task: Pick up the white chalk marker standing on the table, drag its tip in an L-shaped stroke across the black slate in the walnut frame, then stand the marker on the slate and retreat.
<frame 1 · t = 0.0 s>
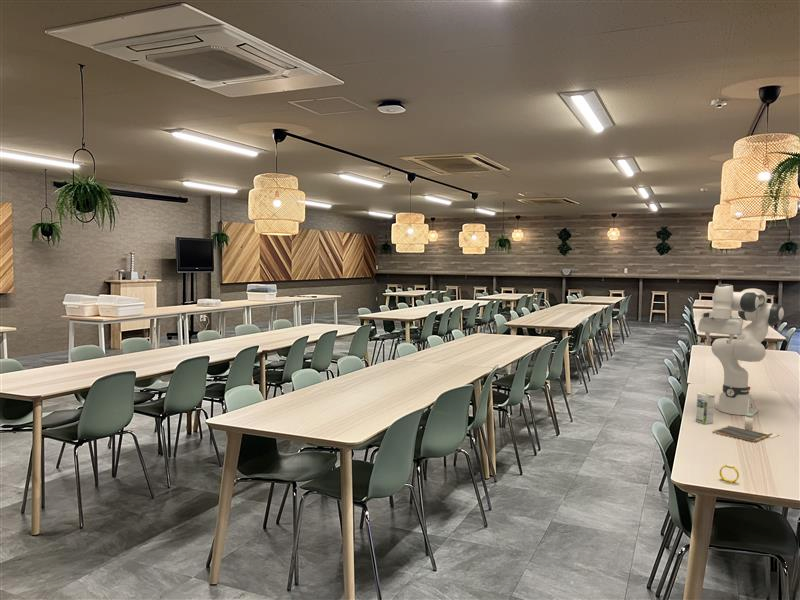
hand: (718, 342, 295), 39 cm above the table, tool pointing down, fingers open, 8 cm apart
marker: (748, 430, 276), on the table
syrup box: (704, 422, 289), on the table
slate: (741, 434, 269), on the table
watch: (728, 481, 209), on the table
word card: (769, 435, 269), on the table
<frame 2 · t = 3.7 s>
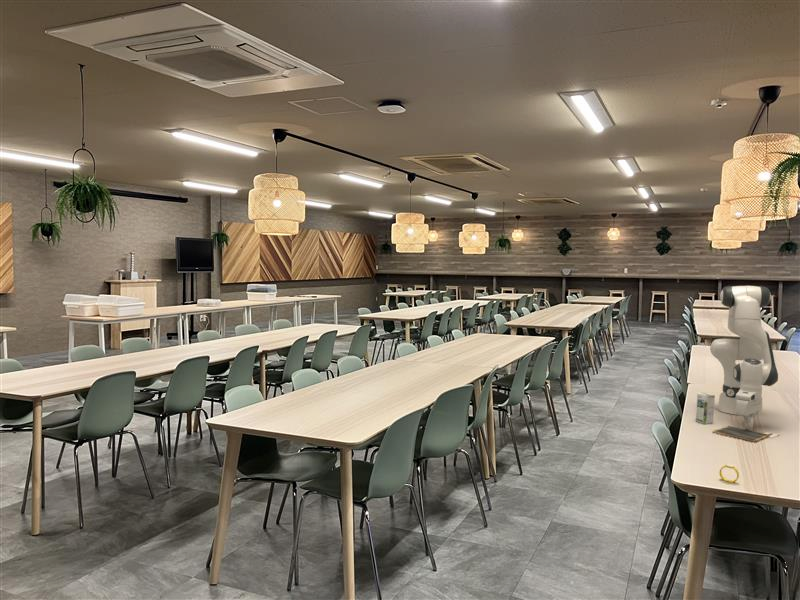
hand: (748, 422, 276), 4 cm above the table, tool pointing down, fingers closed on marker, 3 cm apart
marker: (748, 430, 276), on the table, touching gripper
everything else where it was.
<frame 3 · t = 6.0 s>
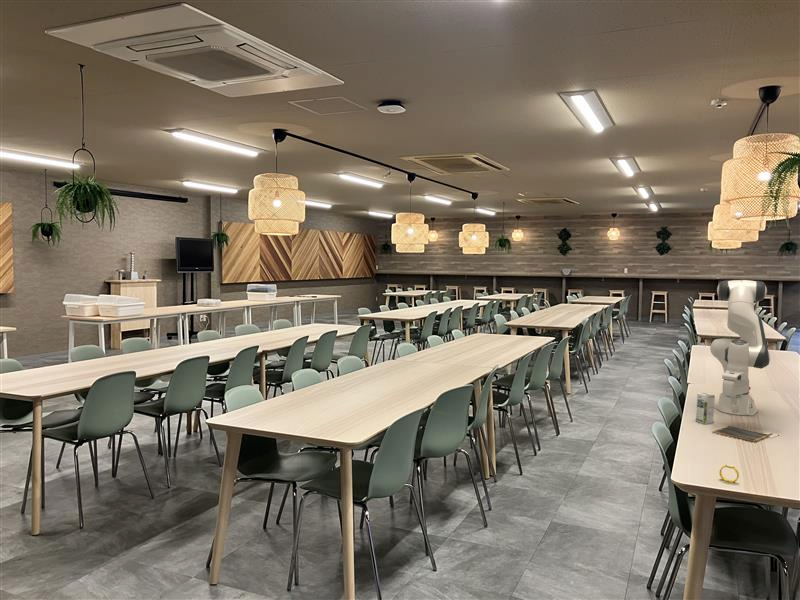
hand: (735, 403, 274), 13 cm above the table, tool pointing down, fingers closed on marker, 3 cm apart
marker: (735, 412, 275), point 9 cm above the table, touching gripper
everything else where it was.
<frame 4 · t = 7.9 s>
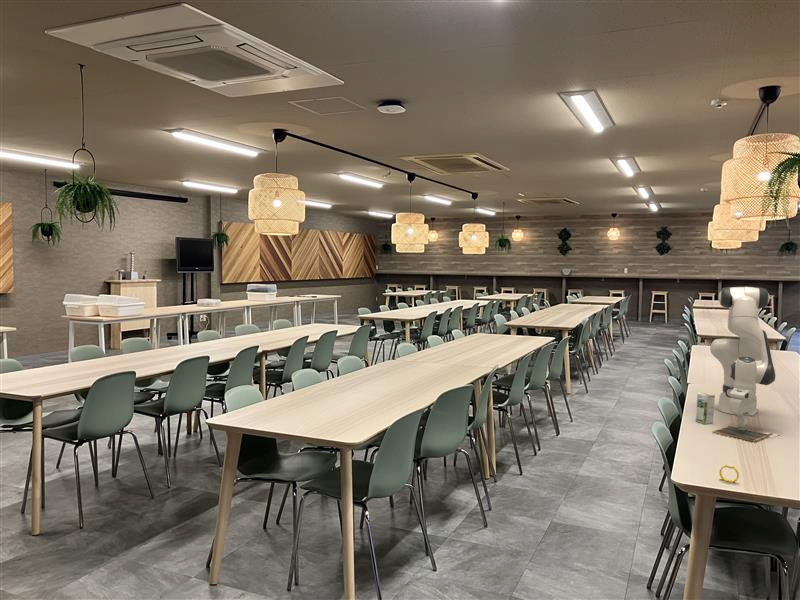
hand: (742, 421, 272), 5 cm above the table, tool pointing down, fingers closed on marker, 3 cm apart
marker: (742, 429, 272), point 1 cm above the table, touching gripper
everything else where it was.
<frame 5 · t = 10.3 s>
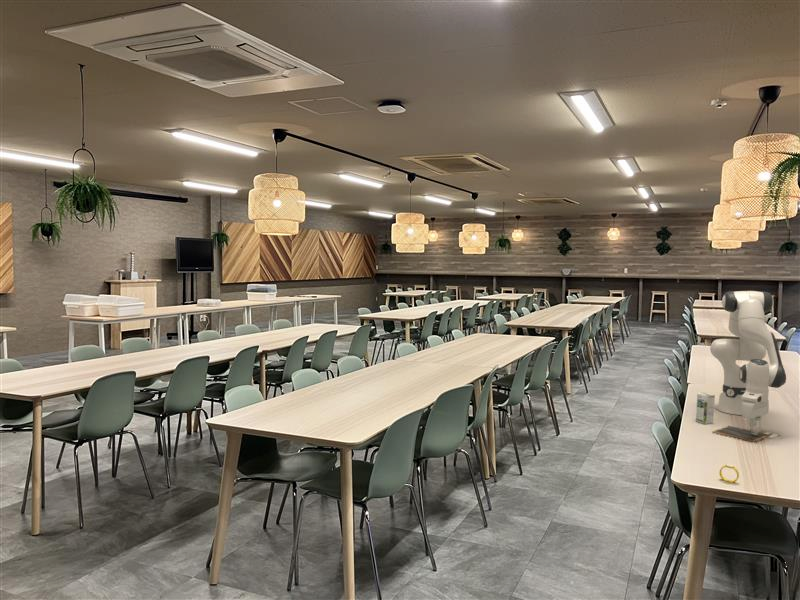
hand: (754, 425, 265), 5 cm above the table, tool pointing down, fingers closed on marker, 3 cm apart
marker: (754, 434, 265), point 1 cm above the table, touching gripper
everything else where it was.
when the fingers open (5 cm above the table, at t = 12.4 s): marker stays where it is, resting on slate.
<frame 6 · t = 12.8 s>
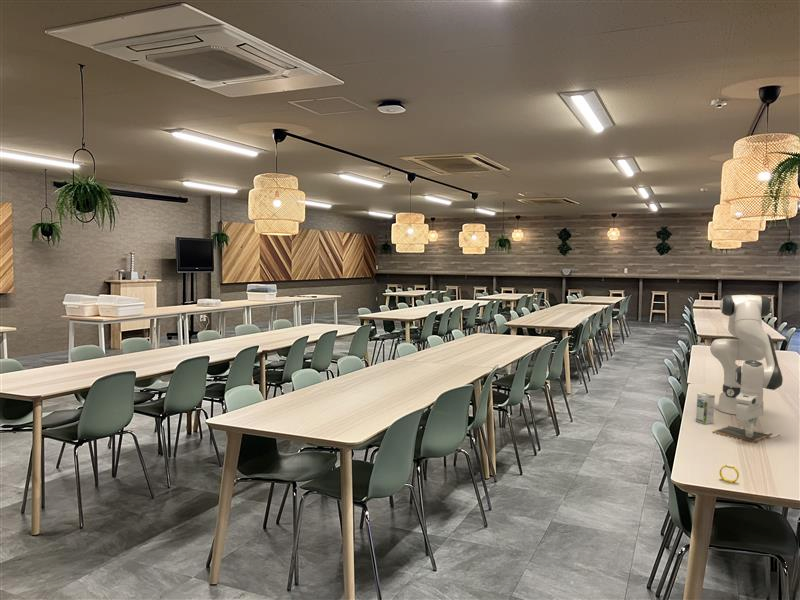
hand: (749, 427, 262), 5 cm above the table, tool pointing down, fingers open, 7 cm apart
marker: (749, 437, 262), point 1 cm above the table, touching slate
everything else where it was.
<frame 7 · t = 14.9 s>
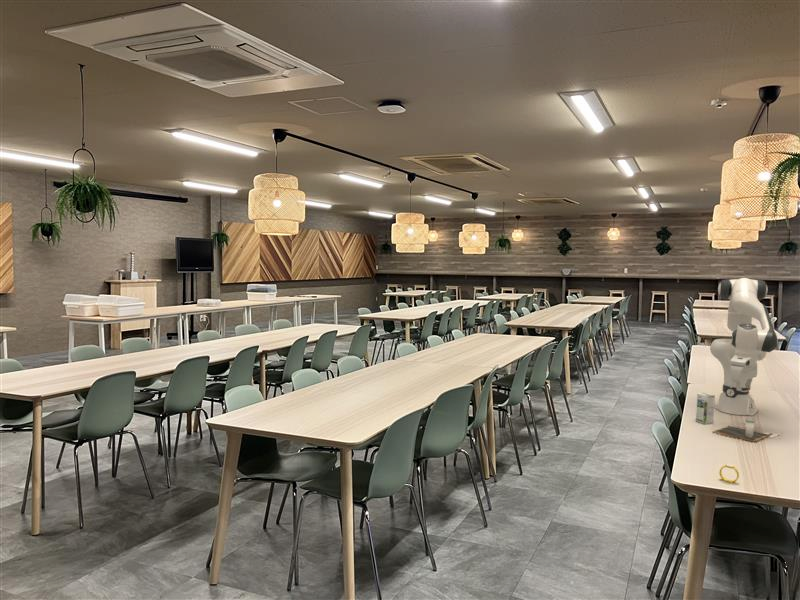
hand: (743, 389, 269), 21 cm above the table, tool pointing down, fingers open, 8 cm apart
nothing on the table moved.
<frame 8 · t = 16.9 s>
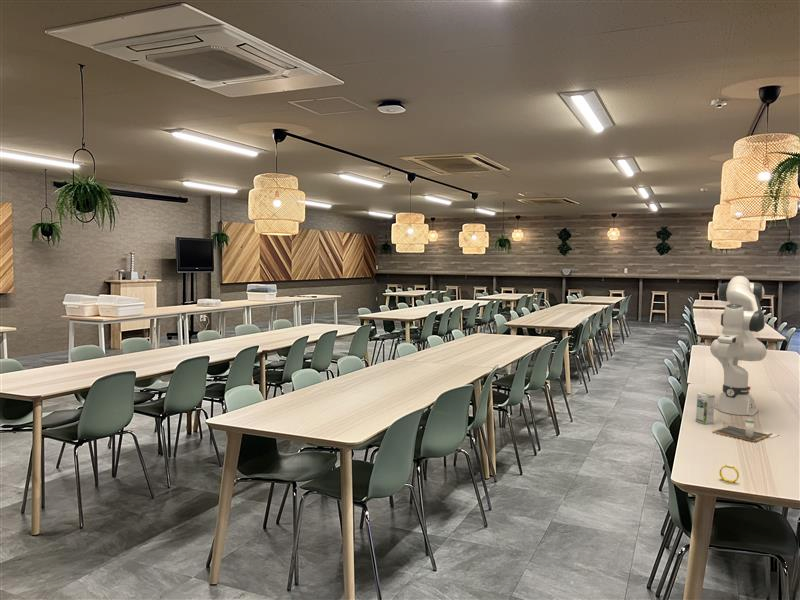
hand: (730, 366, 283), 29 cm above the table, tool pointing down, fingers open, 8 cm apart
nothing on the table moved.
at the end: marker inside the target area (0.1 cm from its centre), point 1.0 cm above the table; marker tilted 0°; the gripper is holding nothing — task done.
